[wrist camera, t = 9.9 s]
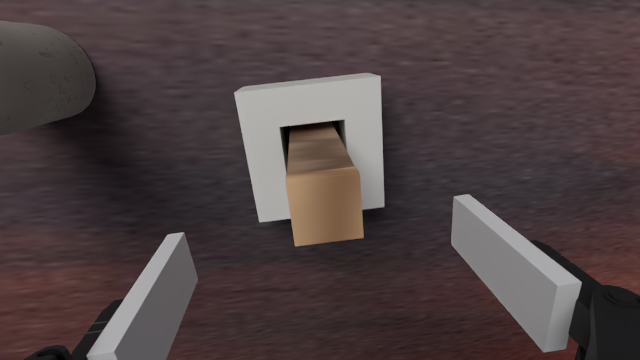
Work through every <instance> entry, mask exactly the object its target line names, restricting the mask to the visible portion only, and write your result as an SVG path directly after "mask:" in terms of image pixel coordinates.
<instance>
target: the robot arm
mask: <svg viewBox="0 0 640 360" xmlns="http://www.w3.org/2000/svg"><path fill="white" fill-rule="evenodd" d="M451 245H452V246H453V247H454V248H455V249H456V250H457V252H458V253H459V254H460V255H461V256H462V257H463V259H464V260H465V261H466V262H467V263H468V265H469V266H470V267H471V268H472V269H473V270H474V272H475V273H476V274H477V275H478V276H479V277H480V279H481V280H482V281H483V282H484V283H485V284H486V286H487V287H488V288H489V289H490V290H491V291H492V293H493V294H494V295H495V296H496V297H497V298H498V300H499V301H500V302H501V303H502V304H503V305H504V307H505V308H506V309H507V310H508V311H509V312H510V314H511V315H512V316H513V317H514V318H515V319H516V321H517V322H518V323H519V324H520V325H521V326H522V328H523V329H524V330H525V331H526V332H527V333H528V335H529V336H530V337H531V338H532V339H533V340H534V342H535V343H536V344H537V345H538V346H539V348H540V349H541V350H542V351H543V352H549V351H556V350H562V349H566V345H567V341H568V337H569V335H570V336H571V337H572V338H573V339H574V340H575V341H576V342H577V343H578V344H579V345H578V349H577V353H576V357H575V360H640V296H639V295H637V294H635V293H633V292H631V291H629V290H627V289H624V288H621V287H618V286H611V285H602V284H600V283H599V282H598V281H596V280H595V279H593V278H592V277H591V276H589V275H588V274H587V273H585V272H584V271H583V270H581V269H580V268H578V267H577V266H576V265H574V264H573V263H570V262H569V260H568V259H566V258H565V257H564V256H561V254H559V253H558V252H557V251H555V250H554V249H553V248H551V247H550V246H548V245H546V244H543V243H541V242H539V241H536V240H532V241H528V240H527V239H526V238H524V237H523V236H522V235H520V234H519V233H518V232H517V231H515V230H514V229H513V228H511V227H510V226H509V225H508V224H506V223H505V222H504V221H502V220H501V219H500V218H499V217H497V216H496V215H495V214H493V213H492V212H491V211H490V210H488V209H487V208H486V207H484V206H483V205H482V204H481V203H479V202H478V201H477V200H475V199H474V198H473V197H472V196H470V195H469V194H468V195H460V196H454V200H453V218H452V236H451ZM197 281H198V278H197V274H196V271H195V267H194V264H193V261H192V257H191V254H190V250H189V247H188V244H187V240H186V237H185V234H184V232H182V233H175V234H168V235H167V236H166V238H165V239H164V241H163V242H162V244H161V245H160V247H159V248H158V250H157V251H156V253H155V254H154V256H153V257H152V259H151V260H150V262H149V263H148V265H147V266H146V268H145V269H144V271H143V272H142V274H141V275H140V276H139V278H138V279H137V281H136V282H135V284H134V285H133V287H132V288H131V290H130V291H129V293H128V294H127V296H126V297H125V299H121V300H115V301H114V302H113V303H111V304H110V305H109V306H108V307H107V308H105V309H104V310H103V311H102V312H101V314H100V315H99V316H98V318H97V319H96V321H95V322H94V324H93V325H92V326H91V327H90V329H89V330H88V333H87V334H85V336H84V337H83V339H82V340H81V341H80V343H79V344H78V345H77V347H76V348H75V350H74V351H73V352H72V354H71V355H70V353H69V351H68V349H67V348H66V347H65V346H61V345H55V346H50V347H47V348H44V349H42V350H40V351H37V352H35V353H34V354H32V355H31V356H29V357H27V358H26V359H24V360H166V358H167V356H168V353H169V351H170V348H171V346H172V343H173V341H174V338H175V336H176V333H177V331H178V328H179V326H180V323H181V321H182V318H183V316H184V313H185V311H186V308H187V306H188V303H189V301H190V298H191V296H192V293H193V291H194V288H195V286H196V283H197Z"/></svg>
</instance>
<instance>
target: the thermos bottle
mask: <svg viewBox="0 0 640 360" xmlns="http://www.w3.org/2000/svg"><path fill="white" fill-rule="evenodd" d="M95 88H96V79H95V74H94V70H93V68H92V65H91V62H90V61H89V59H88V57H87V56H86V54H85V53H84V51H83V50H82V49H81V48H80V47H79V45H78V44H76V43H75V42H74V41H73V40H72V39H71V38H69V37H68V36H66V35H65V34H63V33H62V32H60V31H57V30H55V29H53V28H50V27H46V26H42V25H35V24H26V23H16V22H7V21H0V135H3V134H8V133H13V132H18V131H22V130H26V129H29V128H33V127H36V126H40V125H43V124H47V123H50V122H54V121H58V120H61V119H65V118H68V117H71V116H74V115H76V114H79V113H80V112H82V111H83V110H85V109H86V108H87V106H88V105H89V104H90V103H91V101H92V99H93V97H94V93H95Z"/></svg>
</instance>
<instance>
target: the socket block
mask: <svg viewBox="0 0 640 360" xmlns="http://www.w3.org/2000/svg"><path fill="white" fill-rule="evenodd" d="M234 94H235V100H236V105H237V110H238V115H239V120H240V125H241V130H242V136H243V141H244V146H245V151H246V156H247V161H248V166H249V172H250V177H251V182H252V187H253V192H254V197H255V202H256V208H257V213H258V218H259V222H267V221H275V220H283V219H291V216H290V210H289V203H288V197H287V190H286V184H285V180H286V175H287V167H288V157H287V150H286V143H285V136H284V129H283V127H284V126H292V125H301V124H310V123H318V122H327V121H335V120H338V121H339V134H340V139H341V141H342V143H343V145H344V147H345V149H346V151H347V153H348V154H349V156H350V158H351V160H352V162H353V164H354V166H356V167H357V169H358V171H359V173H360V184H361V201H362V210H363V209H371V208H380V207H384V174H383V142H382V110H381V77H380V76H378V75H374V74H370V73H361V74H352V75H343V76H334V77H325V78H317V79H308V80H299V81H290V82H281V83H272V84H263V85H254V86H245V87H242V88H241V89H239V90H237V91H236V92H234Z"/></svg>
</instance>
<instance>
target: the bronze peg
mask: <svg viewBox="0 0 640 360" xmlns="http://www.w3.org/2000/svg"><path fill="white" fill-rule="evenodd" d="M285 184H286V190H287V197H288V203H289V210H290V216H291V223H292V229H293V236H294V243H295V246H303V245H311V244H318V243H326V242H334V241H342V240H350V239H358V238H364V234H363V218H362V201H361V184H360V173H359V171H358V169H357V167H356V166H354V164H353V162H352V160H351V158H350V156H349V154H348V153H347V151H346V149H345V147H344V145H343V143H342V141H341V139H340V137H339V135H338V134H337V132H336V130H335V128H334V126H333V124H332V122H331V121H327V122H318V123H310V124H301V125H292V126H290V137H289V152H288V167H287V175H286V180H285Z"/></svg>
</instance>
